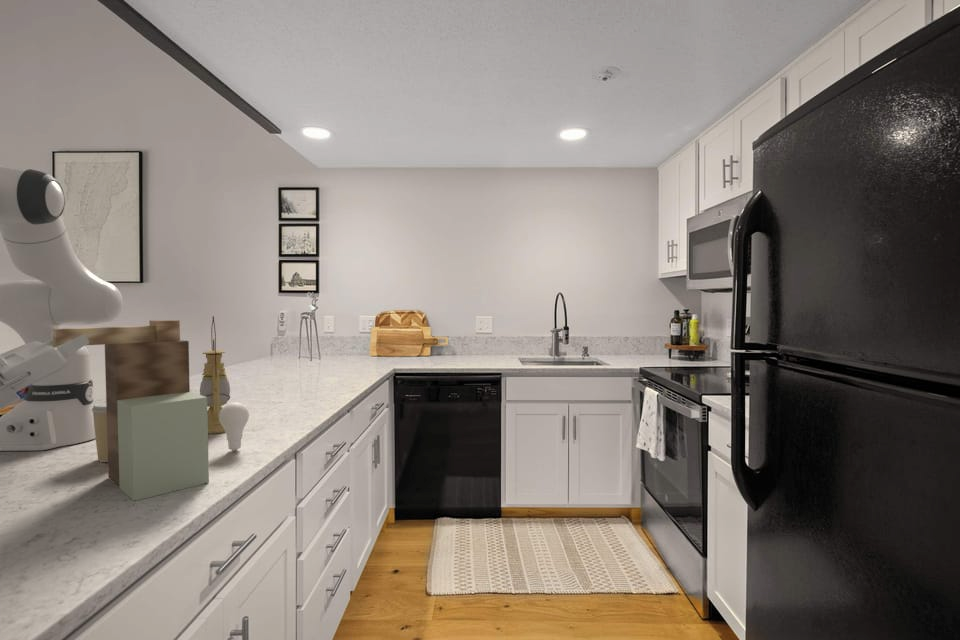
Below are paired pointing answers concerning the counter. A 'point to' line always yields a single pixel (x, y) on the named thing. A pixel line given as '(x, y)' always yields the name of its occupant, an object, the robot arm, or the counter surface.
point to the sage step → (162, 443)
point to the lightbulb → (234, 423)
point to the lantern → (214, 387)
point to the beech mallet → (122, 333)
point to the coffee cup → (101, 430)
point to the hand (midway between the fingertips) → (80, 336)
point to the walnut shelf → (141, 381)
